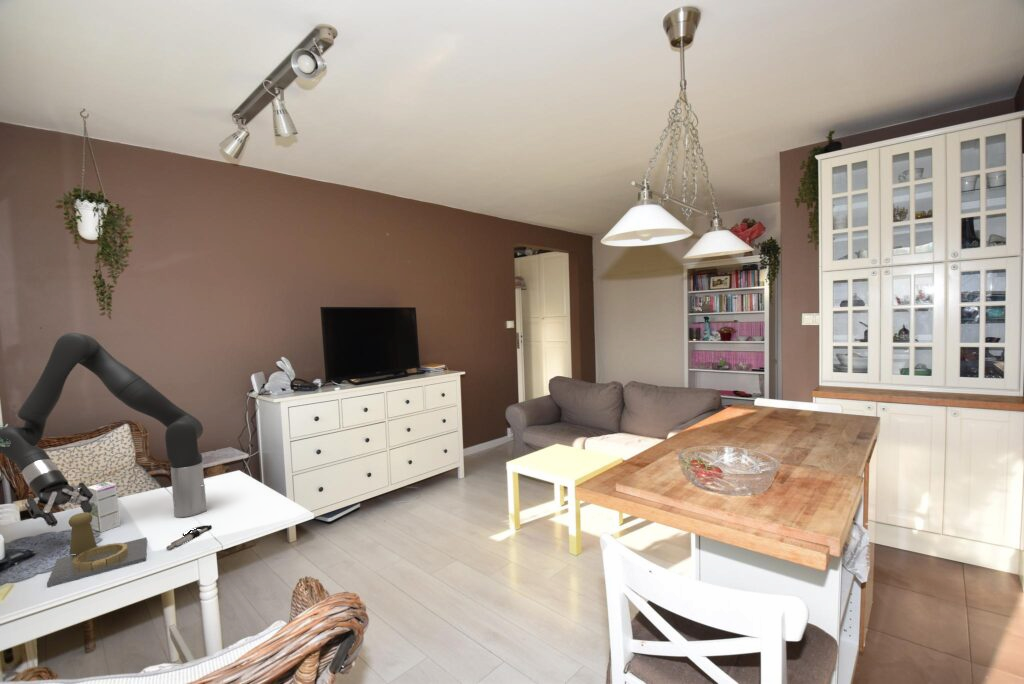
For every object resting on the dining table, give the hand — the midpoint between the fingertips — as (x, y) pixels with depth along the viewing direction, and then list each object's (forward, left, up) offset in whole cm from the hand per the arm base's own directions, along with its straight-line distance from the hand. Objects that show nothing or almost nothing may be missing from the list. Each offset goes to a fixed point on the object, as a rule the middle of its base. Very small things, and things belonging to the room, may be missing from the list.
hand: (72, 518), depth 141 cm
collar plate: (-7, +16, -9) cm, 20 cm away
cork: (-2, +3, -9) cm, 10 cm away
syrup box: (-6, -13, -9) cm, 17 cm away
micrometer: (-27, +14, -10) cm, 32 cm away
